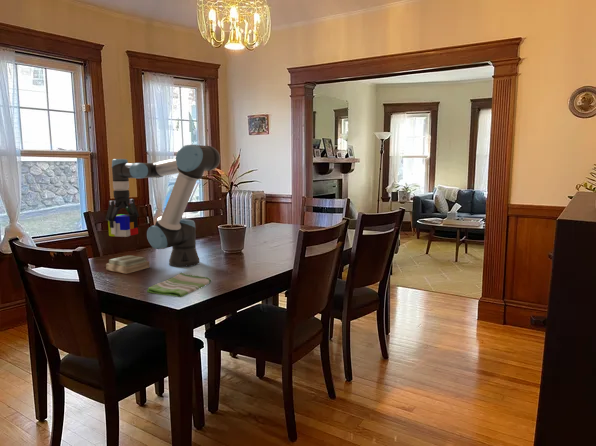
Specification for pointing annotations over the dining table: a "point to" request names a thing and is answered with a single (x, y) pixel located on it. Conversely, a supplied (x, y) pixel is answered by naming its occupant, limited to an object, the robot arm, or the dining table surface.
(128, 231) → the puzzle toy
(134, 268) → the plinth
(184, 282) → the dish towel
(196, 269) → the dining table surface
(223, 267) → the dining table surface
